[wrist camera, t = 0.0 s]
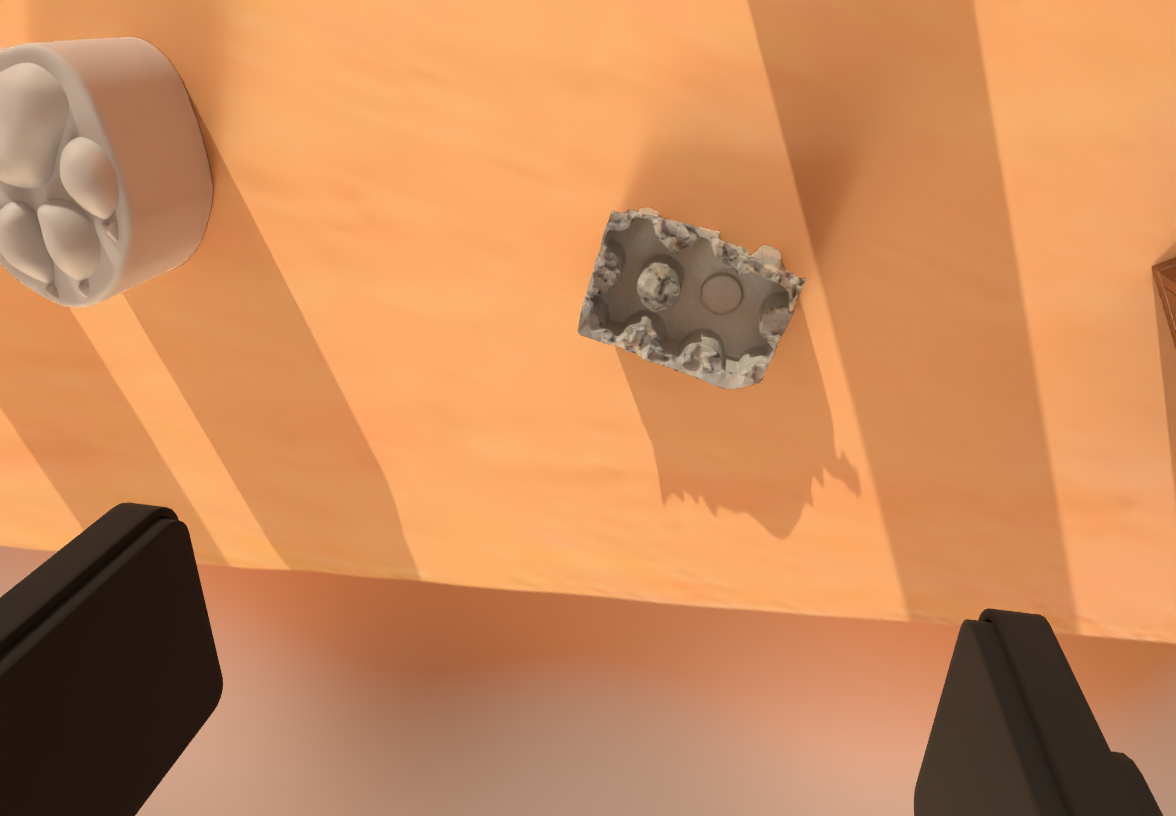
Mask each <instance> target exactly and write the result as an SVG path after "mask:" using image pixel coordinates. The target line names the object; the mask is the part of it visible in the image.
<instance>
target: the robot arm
mask: <svg viewBox="0 0 1176 816" xmlns="http://www.w3.org/2000/svg"><path fill="white" fill-rule="evenodd" d="M222 689H223V678H222V674H221V669H220V665H219V661H218V656H217V652H216V648H215V643H214V639H213V635H212V630H211V626H210V622H209V617H208V613H207V609H206V604H205V600H204V596H203V591H202V587H201V583H200V578H199V574H198V570H197V565H196V561H195V557H194V552H193V548H192V544H191V539H190V535H189V531H188V528H187V526H186V525H185V524H184V523H183V522H181V521H179V520H178V517H177V515H176V514H175V512H174V511H173V510H172V509H169V508H166V507H160V506H152V505H143V504H135V503H121V504H119V505H117V506H115V507H114V508H112V509H111V510H110V511H108V512H107V513H106V514H105V515H103V516H102V517H101V518H100V519H98V520H97V521H96V522H95V523H93V524H92V525H91V526H90V527H88V528H87V529H86V530H85V531H83V532H82V533H81V534H80V535H78V536H77V537H76V538H75V539H73V540H72V541H71V542H69V543H68V544H67V545H66V546H64V547H63V548H62V549H61V550H59V551H58V552H57V553H56V554H54V555H53V556H52V557H51V558H50V559H48V560H47V561H46V562H44V563H43V564H42V565H41V566H39V567H38V568H37V569H36V570H34V571H33V572H32V573H31V574H30V575H28V576H27V577H26V578H24V579H23V580H22V581H21V582H19V583H18V584H17V585H16V586H14V587H13V588H12V589H11V590H9V591H8V592H7V593H6V594H4V595H3V596H2V597H1V598H0V816H135V815H136V814H137V812H138V811H139V810H140V808H141V807H142V806H143V804H144V803H145V802H146V800H147V799H148V798H149V796H150V795H151V794H152V792H153V791H154V790H155V788H156V787H157V785H158V784H159V783H160V782H161V780H162V779H163V777H164V776H165V775H166V773H167V772H168V771H169V770H170V768H171V767H172V766H173V764H174V763H175V762H176V760H177V759H178V758H179V756H180V755H181V754H182V752H183V751H184V750H185V748H186V747H187V746H188V744H189V743H190V742H191V740H192V739H193V738H194V737H195V735H196V734H197V733H198V731H199V730H200V729H201V727H202V726H203V725H204V723H205V722H206V721H207V719H208V718H209V717H210V715H211V714H212V713H213V711H214V710H215V708H216V707H217V705H218V702H219V700H220V698H221V694H222ZM914 816H1163V815H1162V813H1161V811H1160V809H1159V807H1158V805H1157V803H1156V801H1155V799H1154V797H1153V795H1152V793H1151V791H1150V789H1149V787H1148V785H1147V783H1146V781H1145V779H1144V777H1143V775H1142V774H1141V772H1140V771H1139V769H1138V768H1137V766H1136V765H1135V763H1134V762H1133V760H1131V759H1130V758H1129V757H1127V756H1126V755H1125V754H1124V753H1118V752H1111V751H1110V749H1109V747H1108V745H1107V742H1106V740H1105V738H1104V736H1103V734H1102V732H1101V730H1100V728H1099V726H1098V724H1097V722H1096V720H1095V718H1094V716H1093V714H1092V711H1091V709H1090V707H1089V705H1088V703H1087V701H1086V699H1085V697H1084V695H1083V693H1082V691H1081V689H1080V686H1079V684H1078V682H1077V680H1076V678H1075V676H1074V674H1073V672H1072V670H1071V668H1070V666H1069V664H1068V662H1067V659H1066V657H1065V655H1064V653H1063V651H1062V649H1061V647H1060V645H1059V643H1058V641H1057V639H1056V637H1055V635H1054V633H1053V630H1052V628H1051V626H1050V624H1049V623H1048V621H1047V620H1046V618H1045V617H1043V616H1041V615H1037V614H1029V613H1021V612H1012V611H1004V610H996V609H985V610H984V611H983V612H982V613H981V615H980V617H979V620H978V621H976V620H968V619H967V620H965V621H964V622H963V623H962V625H961V628H960V631H959V635H958V639H957V642H956V645H955V649H954V652H953V656H952V659H951V663H950V666H949V670H948V673H947V677H946V680H945V684H944V688H943V691H942V695H941V698H940V702H939V705H938V709H937V712H936V716H935V719H934V723H933V726H932V730H931V733H930V737H929V741H928V744H927V748H926V751H925V755H924V758H923V762H922V765H921V769H920V772H919V776H918V780H917V783H916V787H915V794H914Z"/></svg>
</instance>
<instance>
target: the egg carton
mask: <svg viewBox="0 0 1176 816" xmlns="http://www.w3.org/2000/svg"><path fill="white" fill-rule="evenodd" d="M804 282H805V277H804V278H803V279H801V278H799V277H797V276H796V275H794V274H793V273H789V272H788V271H787V270H786V269H785V268H784V266H783V264H782V261H781V253H780V252H779V251H778V250H777V249H776V248H774V247H772V246H769V245H762V246H761V247H760V248H759V249H758V250H757V251H756V252H754V253H753V254H752V255H749V254H748V252H747V250H746V249H744V248H742V247H740V246H737V245H734V244H732V243H728V242H725V241H723V240H721V239H720V231H719V230H710V229H707V228H703V227H700V228H698V227H696V226H693V225H690V224H686V223H682V222H678V221H674V220H670V219H666V218H661V217H660V212H657V211H655V210H653V209H651V208H649V207H644V208H640V209H639V211H638V212H637V211H635V210H632V209H630V210H628V211H627V212H616V211H612V212H611V214H610V218H609V221H608V223H607V226H606V229H605V232H604V235H603V239H602V243H601V249H600V252H599V254H598V257H597V259H596V262H595V266H594V270H593V274H592V277H591V280H590V283H589V287H588V291H587V294H586V296H585V298H584V302H583V306H582V311H581V315H580V320H579V327H578V333H579V334H580V335H582V336H585V337H588V338H591V339H594V340H597V341H600V342H602V343H605V344H609V345H615V346H618V347H620V348H623V349H625V351H626V352H634V353H636V354H638V355H639V356H640V357H641V358H643V359H644V360H646V361H650V362H653V363H657V364H661V365H664V366H666V367H669V368H671V369H673V370H676V371H679V372H683V373H687V374H689V375H691V376H693V377H696V378H698V379H700V380H702V381H705V382H707V383H709V384H712V385H714V386H716V387H720V388H725V389H738V388H742V387H746V386H750V385H754V384H757V383H760V381H761V380H762V379H763V377H764V374H765V372H766V370H767V367H768V365H769V363H770V361H771V359H772V357H773V355H774V352H775V350H776V348H777V344H778V342H779V340H780V338H781V336H782V334H783V333H784V331H785V329H786V327H787V325H788V323H789V321H790V319H791V316H792V314H793V312H794V311H792V309H793V307H794V305H795V303H796V300H797V298H798V296H799V294H800V292H801V289H802V287H803V285H804Z"/></svg>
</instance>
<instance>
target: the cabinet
mask: <svg viewBox="0 0 1176 816" xmlns="http://www.w3.org/2000/svg"><path fill="white" fill-rule="evenodd" d="M1152 270H1153V274H1154V277H1155V280H1156V284H1157V287H1158V290H1159V294H1160V297H1161V300H1162V304H1163V307H1164V310H1165V314H1166V317H1167V320H1168V324H1169V327H1170V330H1171V334H1172V337H1173V340H1174V344H1175V347H1176V258H1173V259H1170V260H1168V261H1165V262H1163V263H1160V264H1157V265H1155V266H1152Z"/></svg>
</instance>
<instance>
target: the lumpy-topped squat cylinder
mask: <svg viewBox="0 0 1176 816" xmlns="http://www.w3.org/2000/svg"><path fill="white" fill-rule="evenodd" d="M212 198H213V184H212V177H211V172H210V167H209V162H208V158H207V154H206V150H205V146H204V142H203V138H202V135H201V131H200V128H199V125H198V122H197V119H196V116H195V114H194V111H193V108H192V105H191V102H190V100H189V97H188V94H187V91H186V89H185V86H184V84H183V82H182V80H181V78H180V76H179V74H178V73H177V71H176V70H175V68H174V67H173V65H172V64H171V62H170V61H169V60H168V59H167V58H166V57H165V56H164V55H163V54H162V53H161V52H160V51H159V50H158V49H157V48H156V47H154V46H153V45H152V44H150V43H149V42H147V41H145V40H143V39H140V38H136V37H114V38H97V39H80V40H63V41H50V42H32V43H25V44H19V45H15V46H13V47H2V48H0V264H1V265H2V266H3V267H4V268H5V269H6V270H7V271H8V272H9V273H10V274H11V275H12V276H13V277H15V278H16V279H17V280H19V281H20V282H21V283H23V284H24V285H25V286H27V287H28V288H30V289H31V290H33V291H35V292H36V293H38V294H40V295H41V296H43V297H45V298H47V299H49V300H50V301H53V302H55V303H57V304H60V305H63V306H67V307H89V306H93V305H96V304H98V303H101V302H103V301H105V300H107V299H110V298H112V297H114V296H116V295H118V294H120V293H123V292H125V291H127V290H129V289H131V288H133V287H136V286H138V285H140V284H142V283H144V282H146V281H149V280H151V279H153V278H155V277H157V276H159V275H161V274H164V273H166V272H168V271H170V270H172V269H174V268H176V267H178V266H180V265H181V264H183V263H184V262H185V261H186V260H187V259H188V258H189V257H190V256H191V255H192V254H193V253H194V251H195V250H196V249H197V247H198V246H199V244H200V242H201V240H202V238H203V236H204V233H205V229H206V226H207V222H208V218H209V214H210V210H211V204H212Z"/></svg>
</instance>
